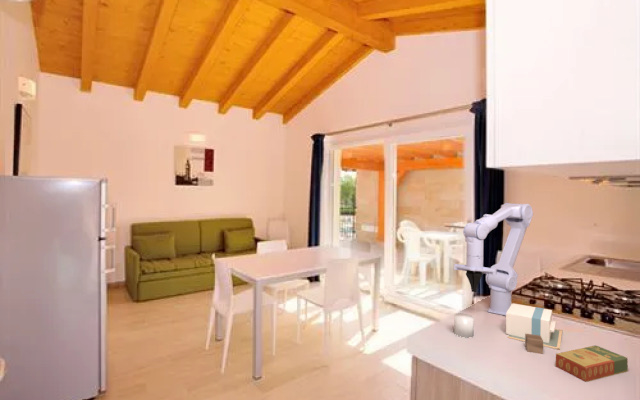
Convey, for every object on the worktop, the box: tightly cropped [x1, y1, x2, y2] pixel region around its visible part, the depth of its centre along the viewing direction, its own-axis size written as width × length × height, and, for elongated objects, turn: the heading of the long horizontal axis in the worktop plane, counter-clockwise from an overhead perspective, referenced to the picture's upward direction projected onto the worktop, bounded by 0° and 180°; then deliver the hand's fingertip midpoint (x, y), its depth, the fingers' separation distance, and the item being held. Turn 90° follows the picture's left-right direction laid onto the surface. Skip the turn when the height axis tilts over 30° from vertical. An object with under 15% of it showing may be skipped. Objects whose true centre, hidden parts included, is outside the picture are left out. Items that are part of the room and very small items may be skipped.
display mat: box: [507, 328, 563, 351], centre depth 114 cm, size 17×14×1 cm
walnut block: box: [524, 334, 544, 355], centre depth 104 cm, size 4×4×4 cm
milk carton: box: [505, 302, 557, 343], centre depth 115 cm, size 12×7×13 cm
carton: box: [554, 344, 629, 383], centre depth 93 cm, size 8×16×4 cm, turn 108°
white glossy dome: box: [453, 312, 475, 339], centre depth 115 cm, size 6×6×6 cm
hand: (474, 291), depth 128 cm, fingers closed
